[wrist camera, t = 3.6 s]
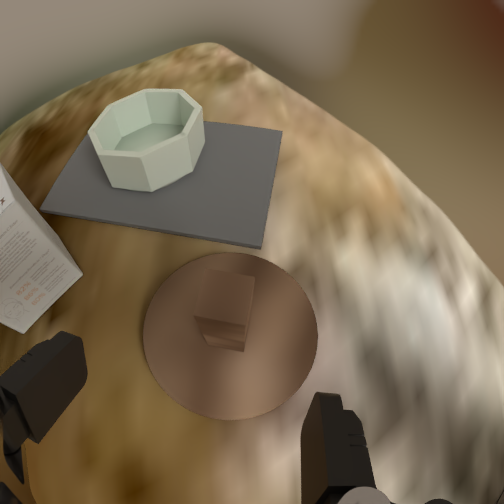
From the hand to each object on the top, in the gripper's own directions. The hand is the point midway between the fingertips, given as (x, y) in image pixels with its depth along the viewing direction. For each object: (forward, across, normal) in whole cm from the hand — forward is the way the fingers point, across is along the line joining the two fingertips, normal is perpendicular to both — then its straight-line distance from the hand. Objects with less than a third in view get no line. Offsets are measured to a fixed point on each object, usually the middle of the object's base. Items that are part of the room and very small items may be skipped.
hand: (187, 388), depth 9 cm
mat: (+21, +10, -5) cm, 24 cm away
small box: (+11, +17, +5) cm, 21 cm away
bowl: (+21, +11, -6) cm, 25 cm away
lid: (+11, 0, +5) cm, 12 cm away
